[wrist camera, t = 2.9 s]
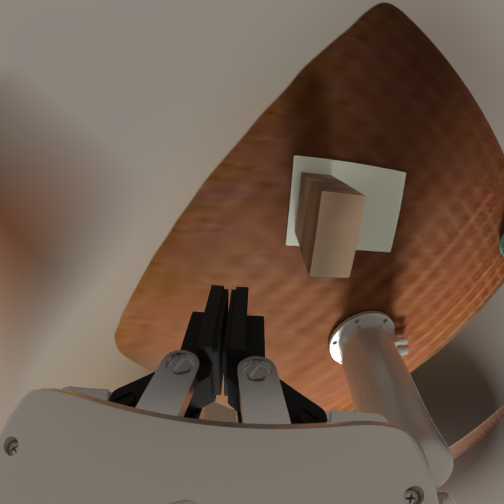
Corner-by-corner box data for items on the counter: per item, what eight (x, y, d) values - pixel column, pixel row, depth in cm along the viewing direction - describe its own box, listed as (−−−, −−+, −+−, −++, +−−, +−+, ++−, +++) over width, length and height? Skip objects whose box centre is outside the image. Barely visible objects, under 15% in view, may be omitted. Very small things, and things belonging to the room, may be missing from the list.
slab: (332, 175, 32) (367, 196, 21) (324, 233, 36) (350, 278, 25) (300, 171, 32) (321, 190, 21) (294, 231, 36) (309, 276, 25)
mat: (404, 172, 32) (406, 172, 32) (388, 250, 37) (390, 252, 36) (293, 155, 32) (294, 155, 32) (285, 243, 37) (285, 245, 37)
